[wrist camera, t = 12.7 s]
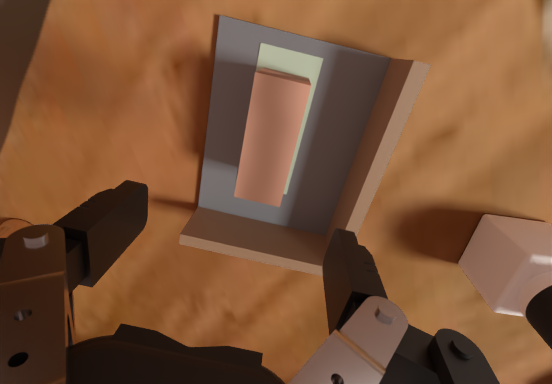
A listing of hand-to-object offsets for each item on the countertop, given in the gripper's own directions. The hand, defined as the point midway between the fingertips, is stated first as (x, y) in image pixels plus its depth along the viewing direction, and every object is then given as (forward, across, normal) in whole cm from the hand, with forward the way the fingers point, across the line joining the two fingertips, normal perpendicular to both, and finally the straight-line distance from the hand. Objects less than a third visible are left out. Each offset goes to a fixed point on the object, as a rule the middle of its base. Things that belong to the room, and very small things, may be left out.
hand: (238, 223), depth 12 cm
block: (+17, 0, 0) cm, 17 cm away
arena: (+18, -2, +2) cm, 18 cm away
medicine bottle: (+18, -28, +7) cm, 34 cm away
